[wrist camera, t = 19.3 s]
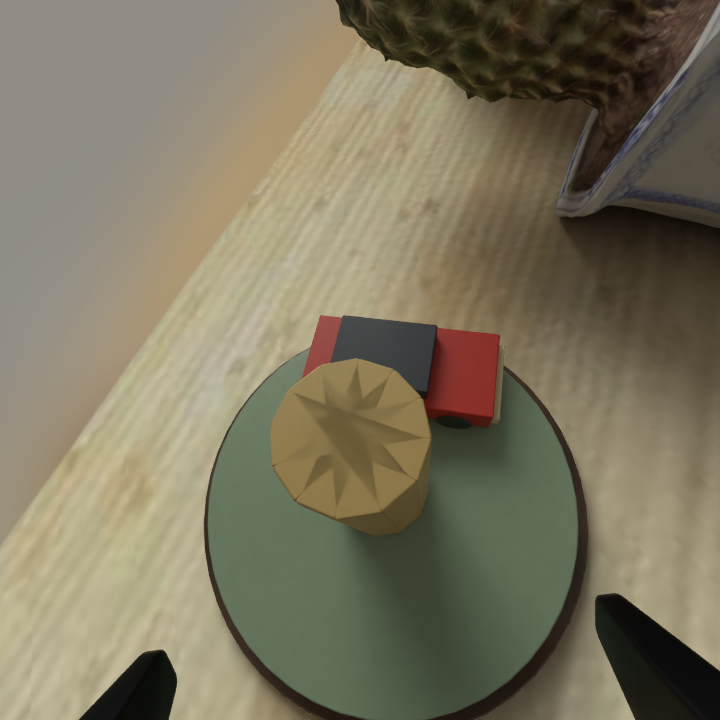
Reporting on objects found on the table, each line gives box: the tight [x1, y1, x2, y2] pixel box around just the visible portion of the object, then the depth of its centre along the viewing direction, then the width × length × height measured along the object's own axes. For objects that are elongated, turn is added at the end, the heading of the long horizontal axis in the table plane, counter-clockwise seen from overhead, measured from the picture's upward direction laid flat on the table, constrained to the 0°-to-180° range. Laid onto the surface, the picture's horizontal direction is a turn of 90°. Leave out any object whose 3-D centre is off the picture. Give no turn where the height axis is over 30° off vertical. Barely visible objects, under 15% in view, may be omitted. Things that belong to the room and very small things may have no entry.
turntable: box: [208, 315, 579, 720], centre depth 15 cm, size 17×17×10 cm
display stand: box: [204, 347, 588, 720], centre depth 20 cm, size 18×18×1 cm
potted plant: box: [336, 0, 720, 229], centre depth 20 cm, size 18×18×30 cm
